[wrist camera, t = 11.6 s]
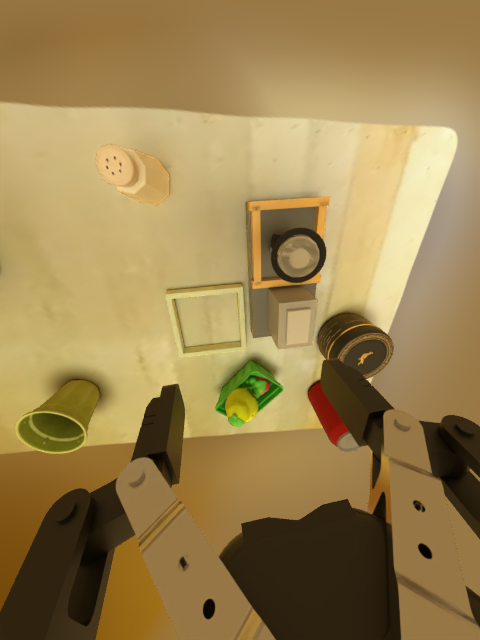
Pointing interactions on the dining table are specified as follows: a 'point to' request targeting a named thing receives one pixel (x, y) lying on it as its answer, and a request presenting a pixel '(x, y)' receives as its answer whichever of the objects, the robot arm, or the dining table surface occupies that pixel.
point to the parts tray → (205, 291)
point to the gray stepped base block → (264, 284)
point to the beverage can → (331, 420)
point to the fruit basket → (247, 394)
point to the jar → (356, 344)
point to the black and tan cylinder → (297, 254)
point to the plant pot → (60, 419)
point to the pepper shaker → (133, 173)
